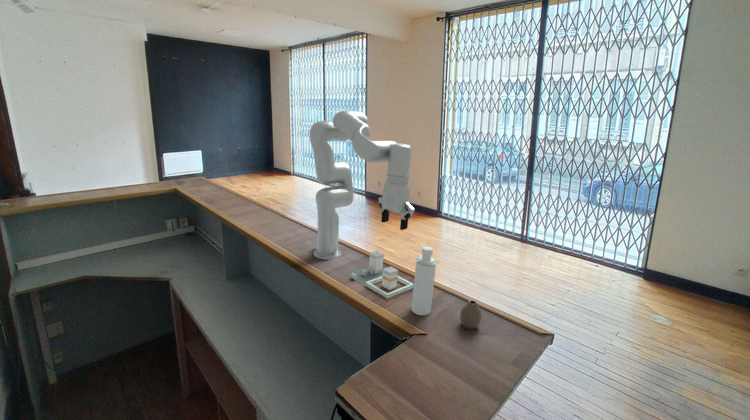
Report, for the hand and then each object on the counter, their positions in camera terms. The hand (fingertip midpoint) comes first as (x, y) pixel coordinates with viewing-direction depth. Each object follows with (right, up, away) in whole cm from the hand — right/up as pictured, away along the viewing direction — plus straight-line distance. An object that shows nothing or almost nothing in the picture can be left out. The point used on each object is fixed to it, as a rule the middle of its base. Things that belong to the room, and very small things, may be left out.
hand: (394, 225), depth 137 cm
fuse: (-7, -20, +19) cm, 28 cm away
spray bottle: (+9, -30, -5) cm, 32 cm away
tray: (-1, -25, +7) cm, 26 cm away
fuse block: (-10, -22, +16) cm, 29 cm away
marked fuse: (-1, -25, +7) cm, 26 cm away
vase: (+24, -33, -13) cm, 43 cm away
